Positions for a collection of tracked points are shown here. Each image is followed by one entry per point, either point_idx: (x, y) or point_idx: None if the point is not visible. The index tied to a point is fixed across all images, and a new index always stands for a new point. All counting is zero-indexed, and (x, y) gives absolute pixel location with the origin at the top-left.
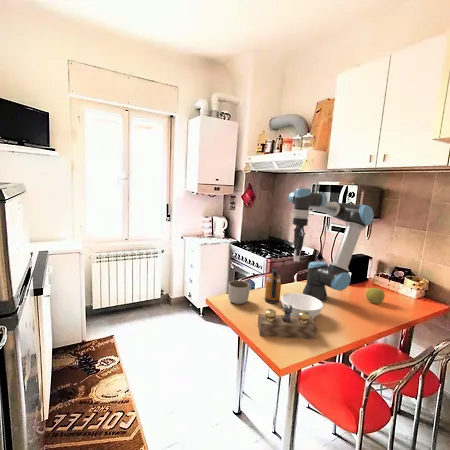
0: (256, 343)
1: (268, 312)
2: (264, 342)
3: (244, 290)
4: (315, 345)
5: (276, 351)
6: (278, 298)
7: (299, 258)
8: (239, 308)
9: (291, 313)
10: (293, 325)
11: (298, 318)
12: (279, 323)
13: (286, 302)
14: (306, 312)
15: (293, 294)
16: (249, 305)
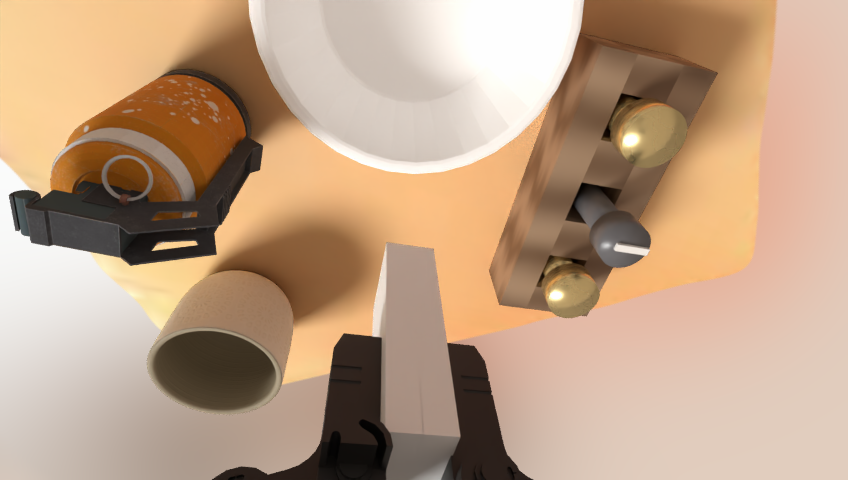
0: (609, 302)
1: (581, 311)
2: (613, 277)
3: (279, 346)
4: (715, 87)
5: (677, 256)
6: (227, 102)
7: (438, 285)
8: (328, 306)
9: (464, 108)
10: (650, 194)
11: (595, 135)
12: None
13: (330, 90)
14: (646, 116)
15: (270, 23)
16: (290, 260)
